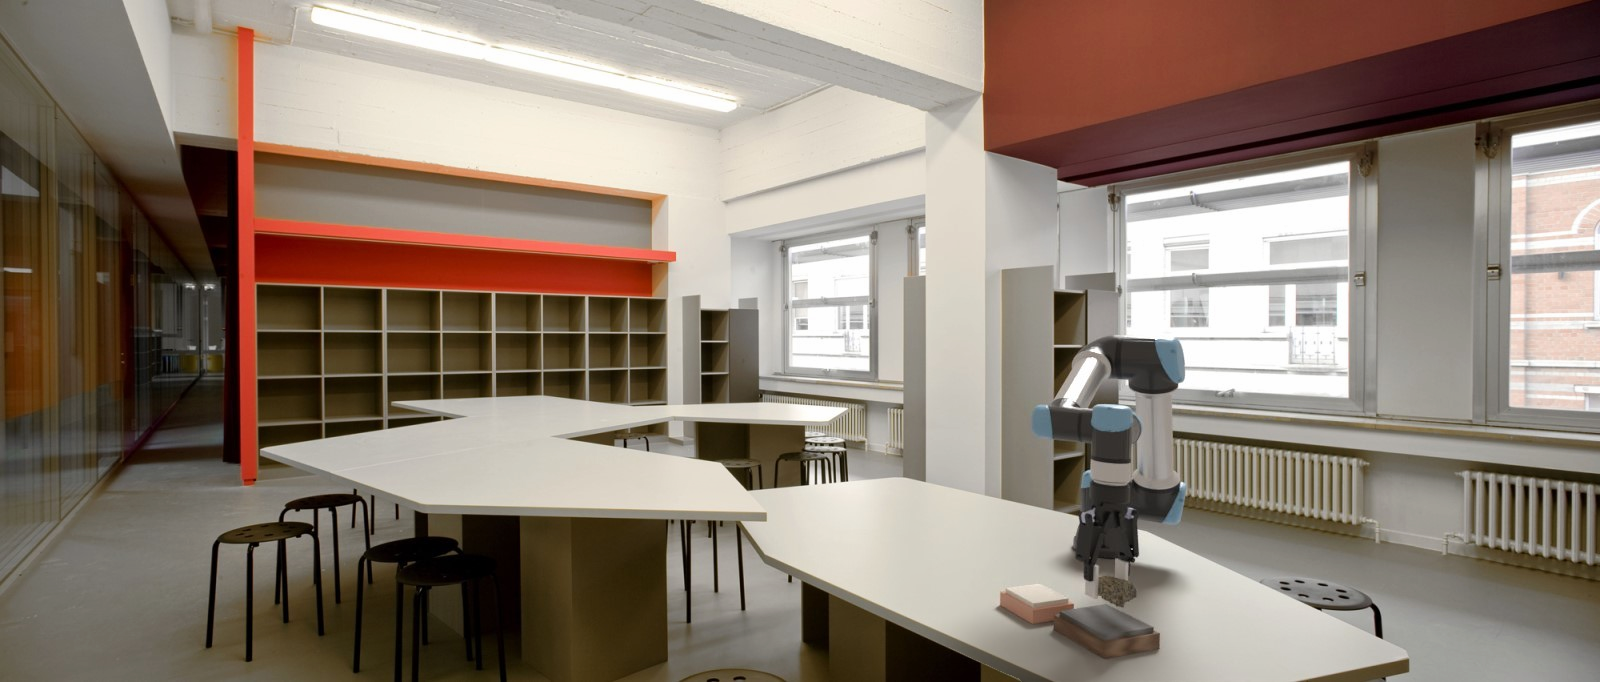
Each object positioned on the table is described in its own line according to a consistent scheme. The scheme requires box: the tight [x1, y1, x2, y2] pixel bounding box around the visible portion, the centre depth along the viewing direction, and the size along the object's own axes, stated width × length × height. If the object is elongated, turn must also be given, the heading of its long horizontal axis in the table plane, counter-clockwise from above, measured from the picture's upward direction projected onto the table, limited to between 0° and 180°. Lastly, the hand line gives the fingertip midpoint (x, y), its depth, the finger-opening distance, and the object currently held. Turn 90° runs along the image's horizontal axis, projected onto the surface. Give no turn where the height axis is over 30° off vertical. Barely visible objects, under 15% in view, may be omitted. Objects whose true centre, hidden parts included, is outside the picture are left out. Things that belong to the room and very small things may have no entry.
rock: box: [1098, 574, 1137, 608], centre depth 142 cm, size 7×8×4 cm
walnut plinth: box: [1053, 603, 1161, 660], centre depth 144 cm, size 14×14×4 cm
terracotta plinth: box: [999, 583, 1075, 625], centre depth 158 cm, size 11×11×4 cm
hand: (1106, 594), depth 144 cm, fingers closed on rock, 7 cm apart
